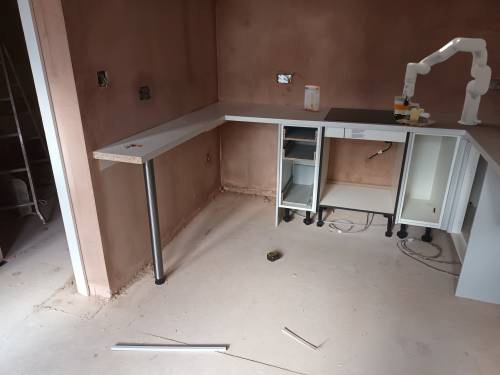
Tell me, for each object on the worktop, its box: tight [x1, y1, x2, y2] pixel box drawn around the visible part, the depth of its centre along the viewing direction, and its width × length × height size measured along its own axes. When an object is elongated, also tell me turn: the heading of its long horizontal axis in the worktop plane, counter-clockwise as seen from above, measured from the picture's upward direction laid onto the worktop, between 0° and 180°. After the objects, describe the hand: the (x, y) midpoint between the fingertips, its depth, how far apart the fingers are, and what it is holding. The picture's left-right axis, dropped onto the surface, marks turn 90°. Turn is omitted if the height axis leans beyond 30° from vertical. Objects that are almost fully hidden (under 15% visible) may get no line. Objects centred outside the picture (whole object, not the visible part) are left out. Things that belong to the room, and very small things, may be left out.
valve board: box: [395, 115, 436, 128], centre depth 285 cm, size 20×20×4 cm
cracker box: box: [303, 84, 321, 112], centre depth 333 cm, size 14×6×21 cm, turn 30°
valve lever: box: [408, 101, 421, 109], centre depth 284 cm, size 11×3×4 cm, turn 52°
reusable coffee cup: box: [393, 95, 412, 115], centre depth 312 cm, size 13×13×15 cm
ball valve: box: [405, 107, 431, 122], centre depth 284 cm, size 18×6×9 cm, turn 36°
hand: (405, 105), depth 283 cm, fingers closed
